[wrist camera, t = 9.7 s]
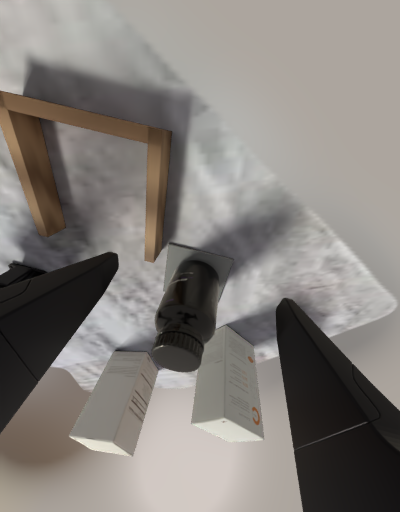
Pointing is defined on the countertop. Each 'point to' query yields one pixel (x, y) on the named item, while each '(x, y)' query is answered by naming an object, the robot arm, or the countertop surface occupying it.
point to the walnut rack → (39, 169)
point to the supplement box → (117, 404)
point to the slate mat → (185, 254)
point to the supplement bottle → (186, 316)
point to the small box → (228, 389)
